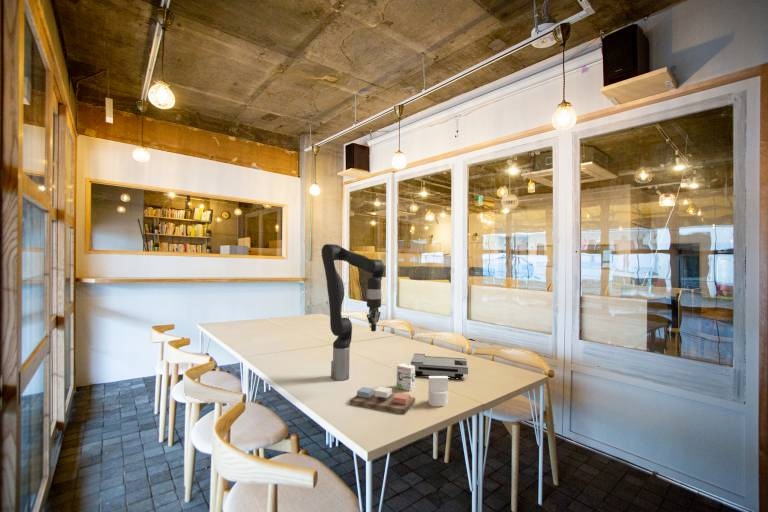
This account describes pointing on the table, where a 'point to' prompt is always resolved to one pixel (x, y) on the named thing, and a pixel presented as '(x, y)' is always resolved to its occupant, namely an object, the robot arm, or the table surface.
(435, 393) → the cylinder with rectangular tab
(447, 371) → the game console
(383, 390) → the off-white key
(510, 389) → the table surface
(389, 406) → the key panel
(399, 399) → the rust key
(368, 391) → the slate-blue key
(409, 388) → the ink box
